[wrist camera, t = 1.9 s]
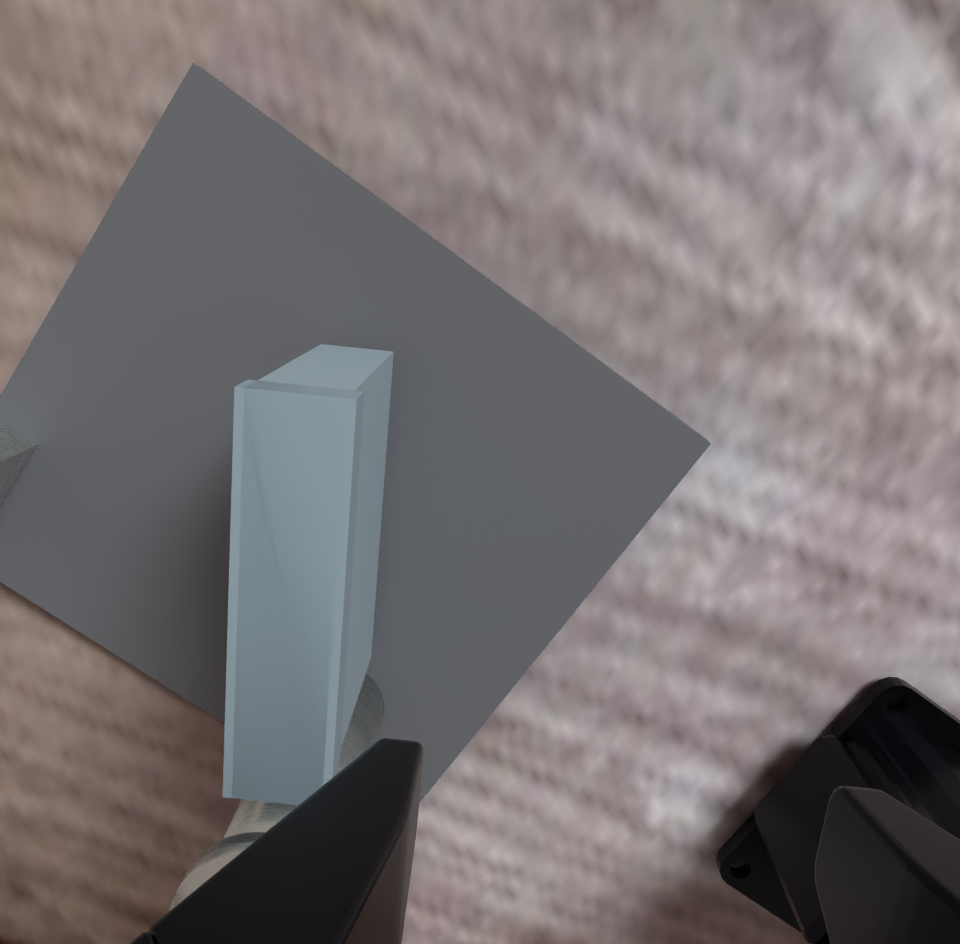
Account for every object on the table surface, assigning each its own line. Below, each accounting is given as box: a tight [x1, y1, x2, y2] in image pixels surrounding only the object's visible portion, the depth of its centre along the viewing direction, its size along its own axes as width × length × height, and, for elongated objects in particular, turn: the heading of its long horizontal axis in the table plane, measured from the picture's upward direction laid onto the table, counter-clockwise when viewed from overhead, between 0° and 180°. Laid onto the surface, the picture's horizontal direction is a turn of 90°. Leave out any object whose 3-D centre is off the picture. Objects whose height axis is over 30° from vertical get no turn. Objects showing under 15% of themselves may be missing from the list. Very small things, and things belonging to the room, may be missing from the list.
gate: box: [223, 344, 394, 805], centre depth 17 cm, size 7×2×6 cm, turn 174°
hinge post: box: [169, 674, 385, 911], centre depth 18 cm, size 3×3×8 cm
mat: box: [0, 64, 710, 803], centre depth 20 cm, size 13×12×1 cm
